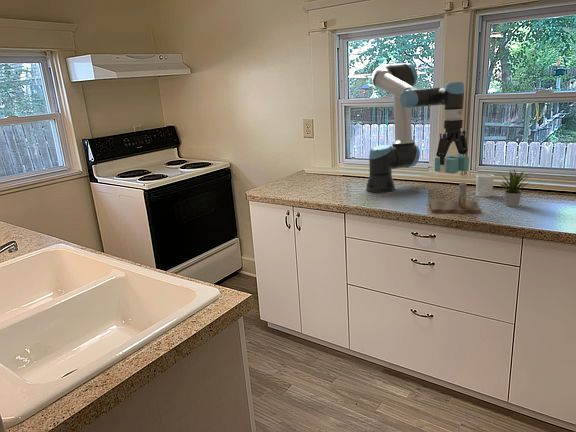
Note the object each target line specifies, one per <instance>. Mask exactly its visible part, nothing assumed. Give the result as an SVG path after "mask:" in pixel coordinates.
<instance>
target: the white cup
mask: <svg viewBox="0 0 576 432" xmlns="http://www.w3.org/2000/svg"><path fill="white" fill-rule="evenodd" d="M475 180H476V181H475V183H476V184H475V186H476V188H475V190H476V194H475V195H476V197H480V198H489V197H492V194H493V188H494V180H495V174H492V173H478V174H476V176H475Z"/></svg>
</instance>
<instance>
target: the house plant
mask: <svg viewBox="0 0 576 432" xmlns="http://www.w3.org/2000/svg"><path fill="white" fill-rule="evenodd" d="M524 172H525V171H521V172H520V174H517V172H516V170H515V169H513V170H512V171H511V170H509V180H508V178H507V177H506V176H504V175H503V174H502V173H499V172H498V174H500V175H501V176H502V177H503V178H504V180H505V181H506V182H505V181H503V180H501V182H502V183H503V184H499V185H500V186H501V187H503V188H505V189H506V190H504V192H503V193H504V203H505V206H506V207H511V208H515V207H517V208H518V207H519V205H520V201H521V197H522V194H523V191H521V190H522V189H523V188H525V186H528V184H530V182H527V183H524V182H525V180H527V179H529V178H530V176H529V175H531V174H534V172H533V173H532V172H529V173H526V174H525V175H524ZM523 175H524V176H523ZM525 177H526V178H525Z"/></svg>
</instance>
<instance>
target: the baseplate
mask: <svg viewBox="0 0 576 432" xmlns="http://www.w3.org/2000/svg"><path fill="white" fill-rule="evenodd" d="M466 197H467V183H466V182H460V183H459V187H458V201H429V206H430V207H429V208H430V211H431V213H433V214H434V213H435V214H482V209H481V207H480V206H479V204H478V202H477V201H467V198H466Z"/></svg>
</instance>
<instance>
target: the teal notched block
mask: <svg viewBox="0 0 576 432" xmlns="http://www.w3.org/2000/svg"><path fill="white" fill-rule="evenodd" d="M445 157H447V164H446V172H443V173H444V174H445V173H446V174H452V175H453V174H458V172H467V171H469V163H470V156H465V155H464V156H457V155H454V154H453V155H452V154H448V155H446V156H445ZM434 172H438V173H441V172H440V157H438V156H436V157H434Z"/></svg>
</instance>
